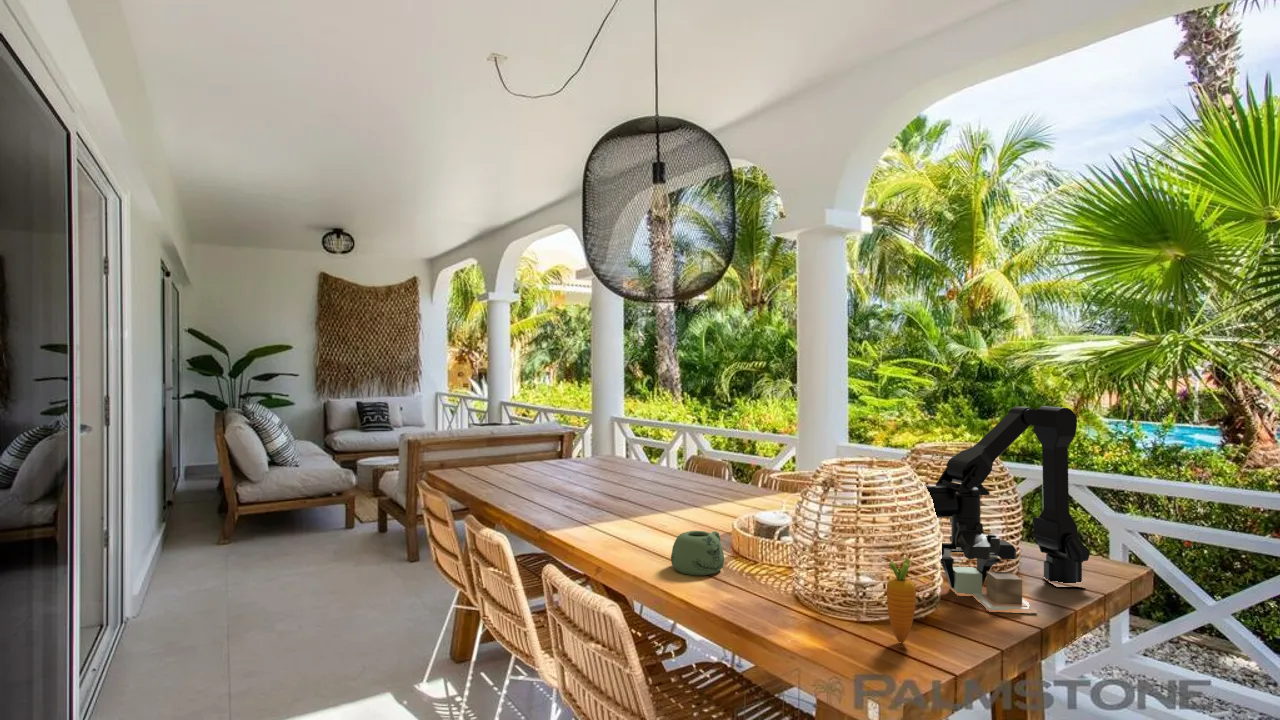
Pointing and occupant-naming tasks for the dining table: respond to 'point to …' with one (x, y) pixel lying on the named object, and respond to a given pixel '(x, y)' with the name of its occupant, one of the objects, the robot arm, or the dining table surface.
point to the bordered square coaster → (993, 606)
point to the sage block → (967, 580)
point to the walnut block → (1004, 588)
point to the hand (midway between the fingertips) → (965, 588)
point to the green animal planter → (697, 553)
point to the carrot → (901, 601)
